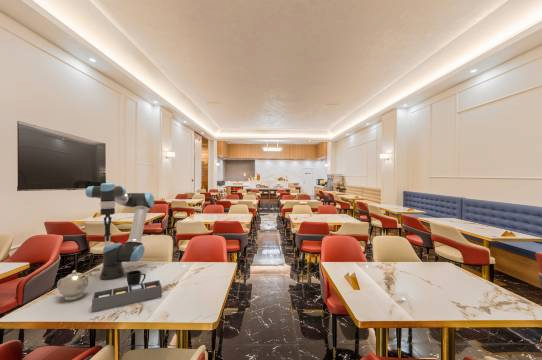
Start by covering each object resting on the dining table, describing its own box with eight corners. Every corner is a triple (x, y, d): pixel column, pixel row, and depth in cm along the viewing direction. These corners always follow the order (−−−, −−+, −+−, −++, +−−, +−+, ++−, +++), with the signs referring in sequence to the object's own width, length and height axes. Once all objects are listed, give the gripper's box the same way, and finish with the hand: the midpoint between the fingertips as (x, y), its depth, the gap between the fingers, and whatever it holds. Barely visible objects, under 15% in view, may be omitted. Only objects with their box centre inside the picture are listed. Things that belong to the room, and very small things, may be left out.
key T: (115, 299, 144) (115, 293, 144) (125, 297, 147) (125, 291, 147) (115, 303, 140) (115, 296, 140) (125, 300, 143) (125, 294, 143)
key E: (146, 293, 153) (146, 286, 153) (155, 291, 155) (155, 285, 155) (147, 296, 148) (147, 289, 148) (156, 294, 151) (156, 288, 151)
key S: (131, 292, 149) (131, 286, 149) (140, 290, 151) (140, 284, 151) (131, 296, 144) (131, 289, 144) (141, 294, 147) (141, 287, 147)
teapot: (94, 293, 156) (94, 266, 156) (76, 303, 142) (76, 274, 142) (67, 292, 157) (67, 266, 157) (46, 302, 143) (46, 274, 143)
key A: (98, 302, 140) (98, 296, 140) (109, 300, 143) (109, 294, 143) (98, 306, 136) (98, 299, 136) (109, 304, 139) (109, 297, 139)
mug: (140, 290, 160) (141, 275, 160) (123, 289, 161) (123, 274, 161) (148, 285, 168) (148, 270, 168) (132, 284, 169) (132, 270, 169)
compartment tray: (93, 304, 141) (93, 292, 141) (159, 290, 159) (159, 280, 159) (92, 312, 133) (92, 299, 133) (161, 297, 150) (161, 285, 150)
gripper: (101, 207, 159) (101, 244, 159) (99, 209, 148) (99, 249, 148) (115, 206, 163) (114, 243, 163) (114, 208, 152) (114, 247, 152)
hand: (107, 245), depth 156 cm, fingers closed
